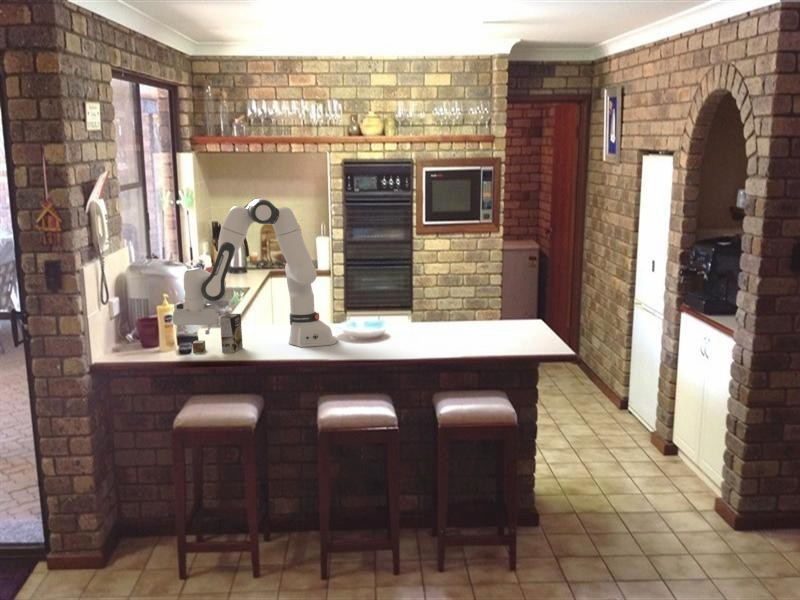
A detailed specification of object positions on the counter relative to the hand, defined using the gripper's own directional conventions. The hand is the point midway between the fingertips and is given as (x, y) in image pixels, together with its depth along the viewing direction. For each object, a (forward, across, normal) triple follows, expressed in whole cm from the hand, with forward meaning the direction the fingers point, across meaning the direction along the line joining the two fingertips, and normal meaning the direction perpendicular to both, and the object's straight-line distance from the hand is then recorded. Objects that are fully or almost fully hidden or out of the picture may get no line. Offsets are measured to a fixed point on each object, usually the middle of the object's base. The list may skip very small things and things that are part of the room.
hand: (197, 334), depth 332 cm
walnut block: (+8, -1, 0) cm, 8 cm away
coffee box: (+8, -16, 0) cm, 17 cm away
